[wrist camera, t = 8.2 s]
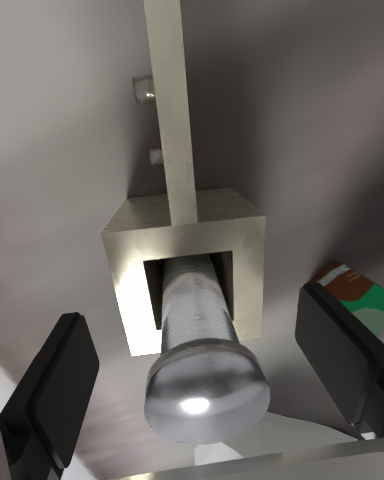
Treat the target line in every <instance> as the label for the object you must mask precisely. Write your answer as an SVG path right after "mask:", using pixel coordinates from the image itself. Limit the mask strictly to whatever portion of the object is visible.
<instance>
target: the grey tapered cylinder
mask: <svg viewBox="0 0 384 480" xmlns="http://www.w3.org/2000/svg"><path fill="white" fill-rule="evenodd" d="M269 404H270V389H269V386H268V383H267V381H266V378H265V376H264V373H263V371H262V368H261V366H260V364H259V361H258V359H257V358H256V356H255V355H254V354H253V353H252V352H251V351H250V350H249V349H248V348H246V347H245V346H243V345H241V344H240V343H239V340H238V337H237V334H236V331H235V328H234V325H233V323H232V320H231V317H230V314H229V311H228V308H227V305H226V302H225V299H224V296H223V293H222V290H221V288H220V285H219V282H218V279H217V276H216V273H215V270H214V267H213V264H212V261H211V258H210V255H209V253H205V254H196V255H188V256H179V257H170V258H164V279H163V303H162V326H161V349H160V357H159V358H158V359H157V360H156V362H155V363H154V364H153V366H152V367H151V369H150V371H149V373H148V377H147V383H146V393H145V404H144V414H145V418H146V421H147V422H148V424H149V426H150V427H151V428H152V429H153V430H154V431H155V432H156V433H157V434H159V435H160V436H162V437H164V438H166V439H168V440H171V441H174V442H177V443H182V444H189V445H205V444H213V443H218V442H222V441H226V440H229V439H232V438H234V437H236V436H239V435H241V434H243V433H244V432H246V431H248V430H249V429H250V428H252V427H253V426H254V425H256V424H257V423H258V422H259V421H260V420H261V418H262V417H263V416H264V414H265V413H266V411H267V409H268V406H269Z"/></svg>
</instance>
